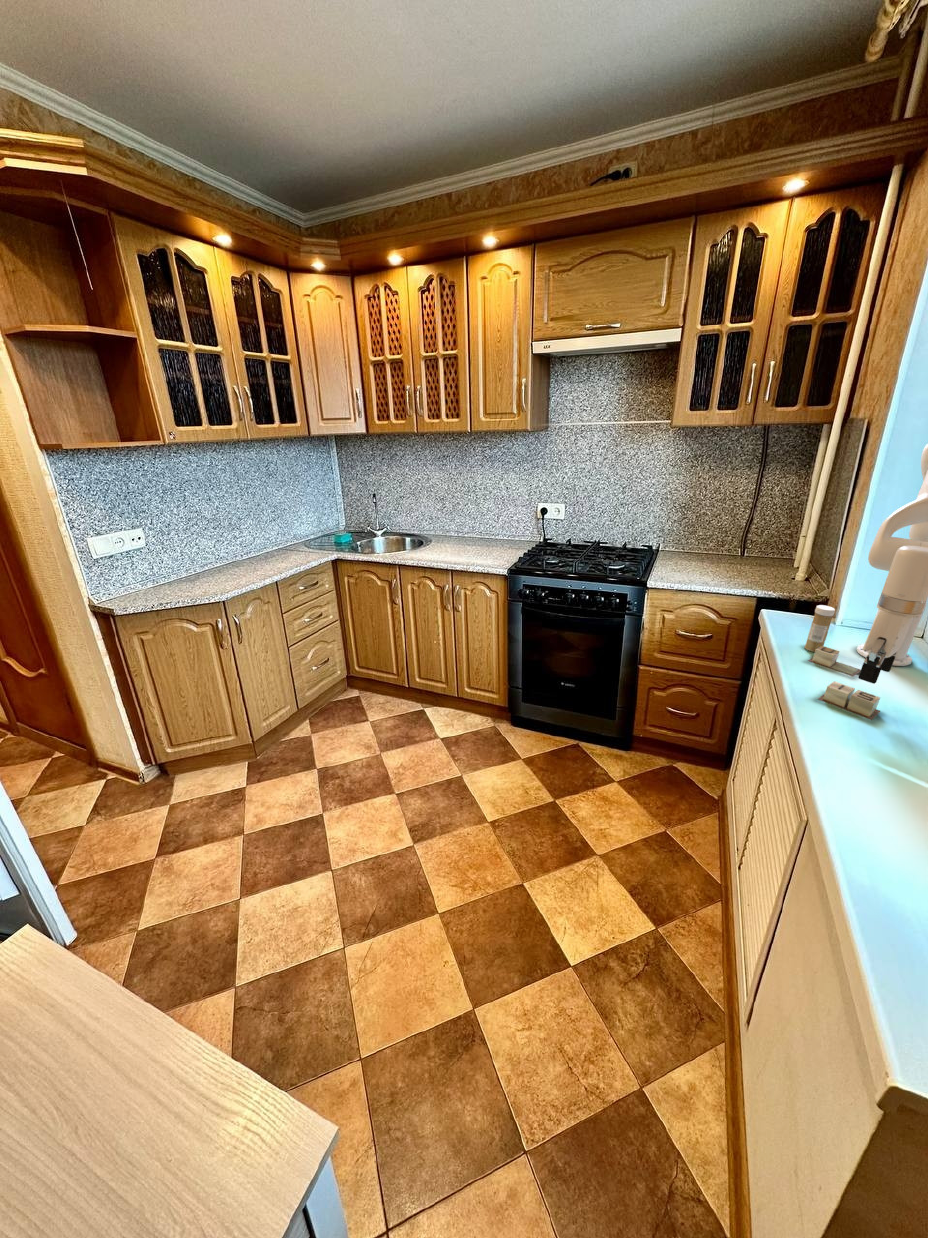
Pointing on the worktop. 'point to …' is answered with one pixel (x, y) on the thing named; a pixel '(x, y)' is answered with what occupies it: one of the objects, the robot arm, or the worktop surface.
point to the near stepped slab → (841, 697)
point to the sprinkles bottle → (819, 627)
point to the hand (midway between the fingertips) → (873, 675)
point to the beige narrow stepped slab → (832, 661)
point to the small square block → (863, 703)
